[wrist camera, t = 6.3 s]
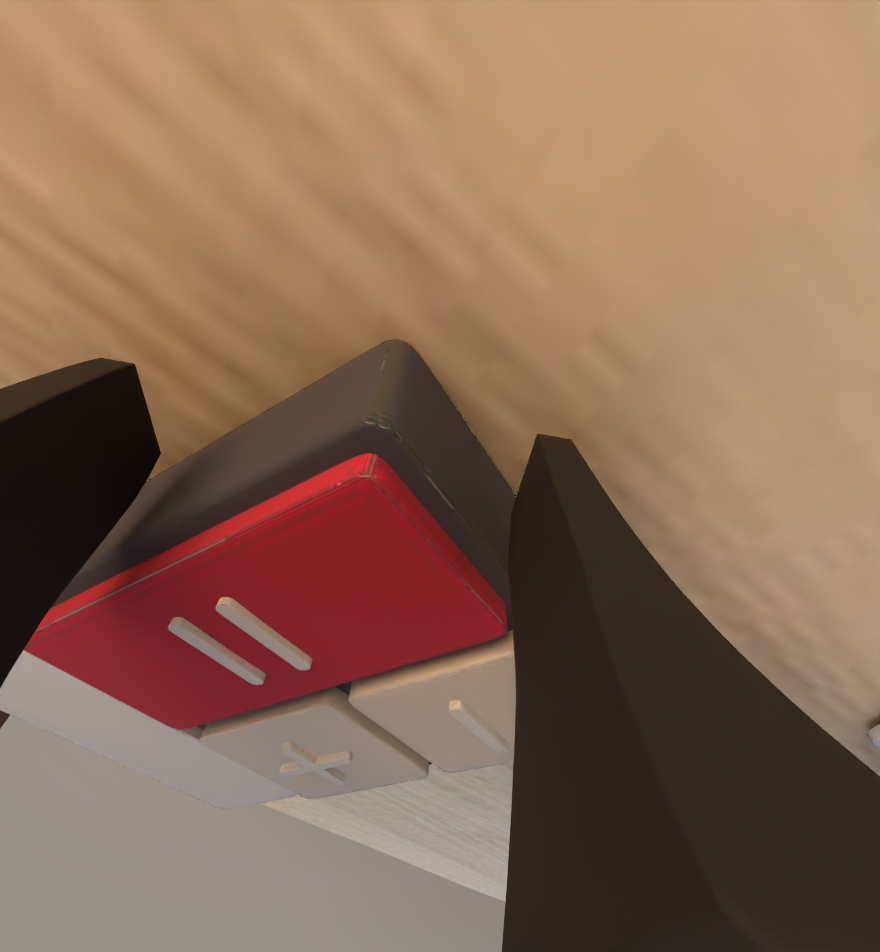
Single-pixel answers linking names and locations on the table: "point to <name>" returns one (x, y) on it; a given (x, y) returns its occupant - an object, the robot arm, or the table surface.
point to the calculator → (296, 604)
